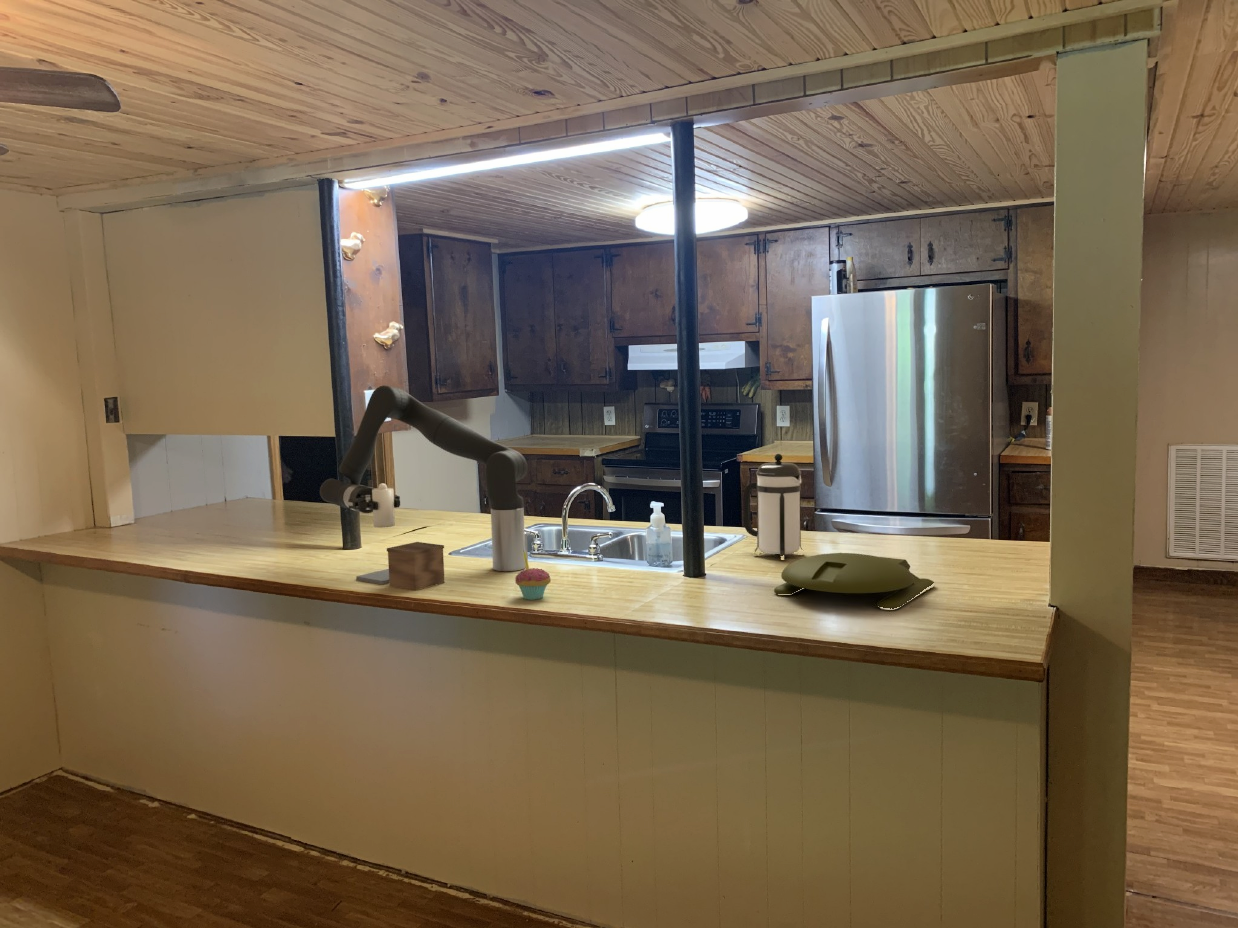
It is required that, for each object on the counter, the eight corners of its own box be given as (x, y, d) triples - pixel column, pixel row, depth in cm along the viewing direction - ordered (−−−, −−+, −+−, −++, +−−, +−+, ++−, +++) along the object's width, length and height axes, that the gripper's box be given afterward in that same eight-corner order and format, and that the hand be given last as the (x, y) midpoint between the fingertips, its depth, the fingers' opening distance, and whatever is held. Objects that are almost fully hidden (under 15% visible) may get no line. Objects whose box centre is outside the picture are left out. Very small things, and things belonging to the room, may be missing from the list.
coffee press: (801, 550, 269) (801, 451, 266) (807, 561, 253) (807, 455, 250) (743, 550, 270) (742, 451, 268) (745, 561, 255) (744, 456, 252)
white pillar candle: (385, 523, 246) (383, 481, 245) (399, 525, 243) (397, 482, 242) (369, 526, 242) (367, 483, 240) (383, 528, 238) (381, 485, 237)
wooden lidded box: (418, 578, 242) (416, 541, 242) (445, 582, 236) (444, 545, 236) (388, 585, 234) (386, 548, 233) (415, 590, 228) (413, 551, 227)
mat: (391, 571, 252) (390, 568, 252) (417, 575, 245) (417, 572, 245) (356, 579, 242) (356, 576, 242) (383, 584, 236) (383, 580, 235)
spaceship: (821, 574, 239) (821, 537, 238) (937, 588, 220) (938, 548, 219) (758, 602, 211) (757, 561, 210) (885, 621, 192) (886, 576, 191)
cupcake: (518, 602, 213) (517, 553, 212) (513, 594, 221) (511, 546, 220) (554, 599, 216) (552, 550, 214) (547, 591, 224) (545, 544, 223)
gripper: (336, 487, 248) (361, 493, 235) (384, 483, 257) (411, 488, 244) (337, 514, 248) (362, 521, 235) (385, 508, 258) (412, 515, 245)
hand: (387, 504), depth 240 cm, fingers closed on white pillar candle, 5 cm apart
